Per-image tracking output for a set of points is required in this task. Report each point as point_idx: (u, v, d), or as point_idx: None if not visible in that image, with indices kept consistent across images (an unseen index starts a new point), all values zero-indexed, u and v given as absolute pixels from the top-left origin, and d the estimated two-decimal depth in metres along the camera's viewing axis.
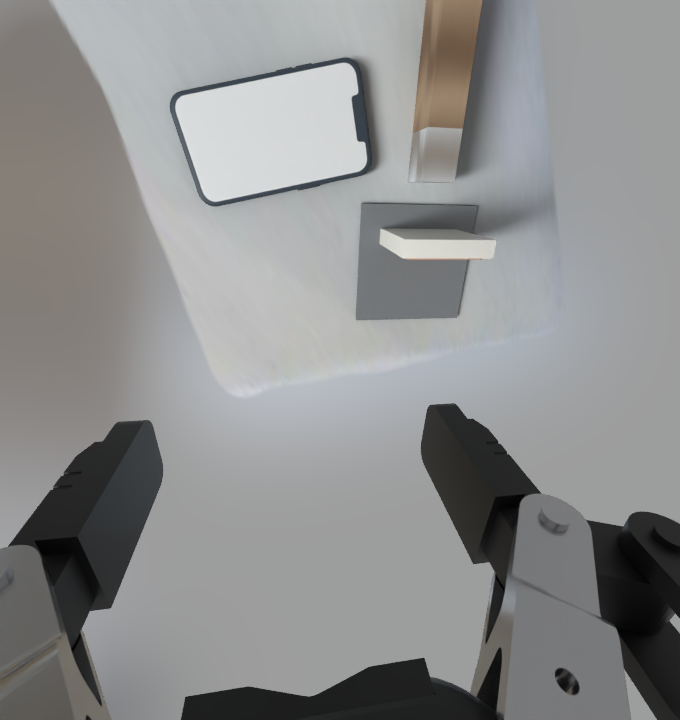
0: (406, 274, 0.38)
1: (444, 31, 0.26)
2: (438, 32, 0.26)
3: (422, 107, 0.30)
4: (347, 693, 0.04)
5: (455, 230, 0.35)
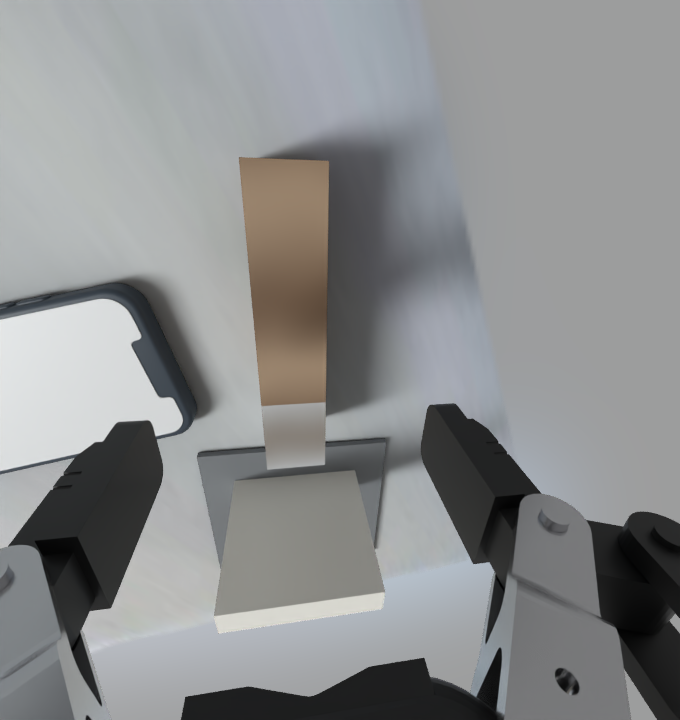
0: None
1: (259, 277, 0.13)
2: None
3: None
4: (346, 693, 0.04)
5: (350, 483, 0.23)
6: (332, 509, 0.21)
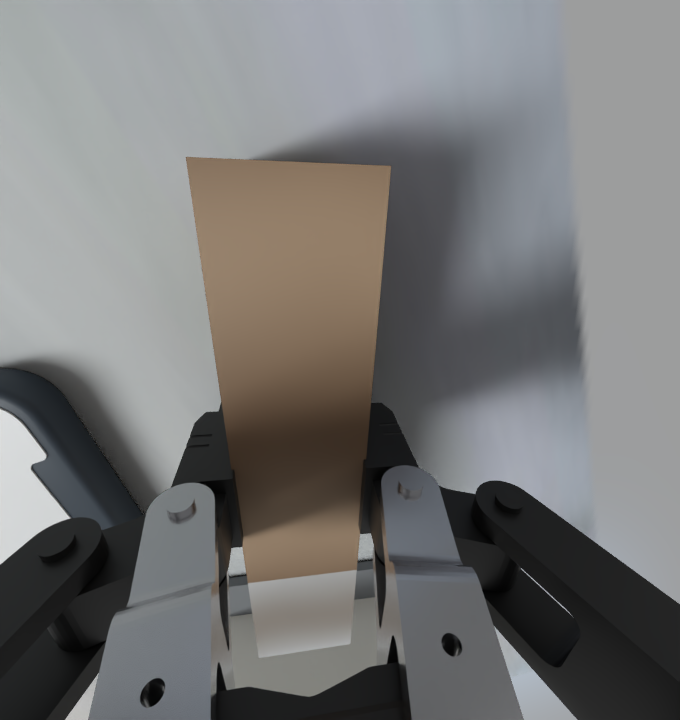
0: None
1: (240, 394, 0.07)
2: (222, 394, 0.07)
3: None
4: (347, 693, 0.04)
5: None
6: None
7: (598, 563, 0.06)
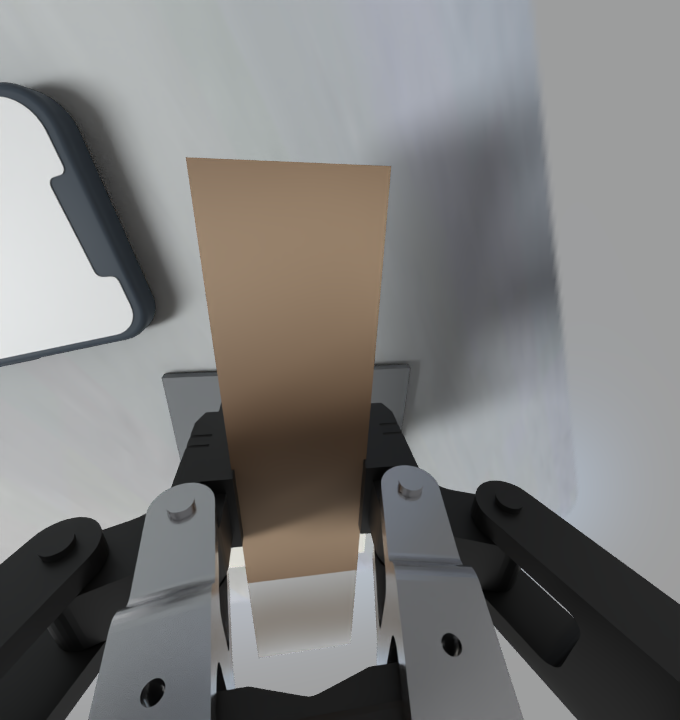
0: None
1: (239, 394, 0.07)
2: (222, 394, 0.07)
3: None
4: (347, 693, 0.04)
5: None
6: None
7: (598, 563, 0.06)
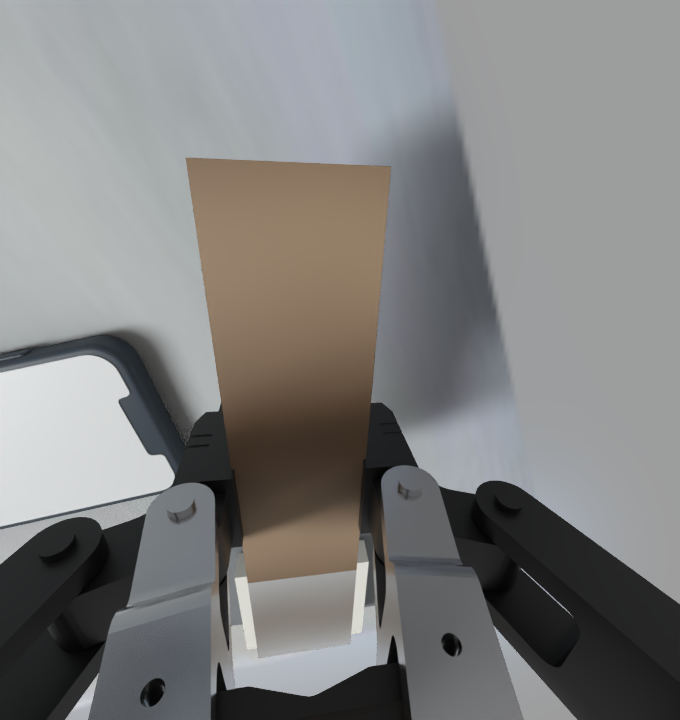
0: None
1: (239, 394, 0.07)
2: (221, 394, 0.07)
3: None
4: (346, 692, 0.04)
5: (359, 574, 0.22)
6: None
7: (597, 563, 0.06)
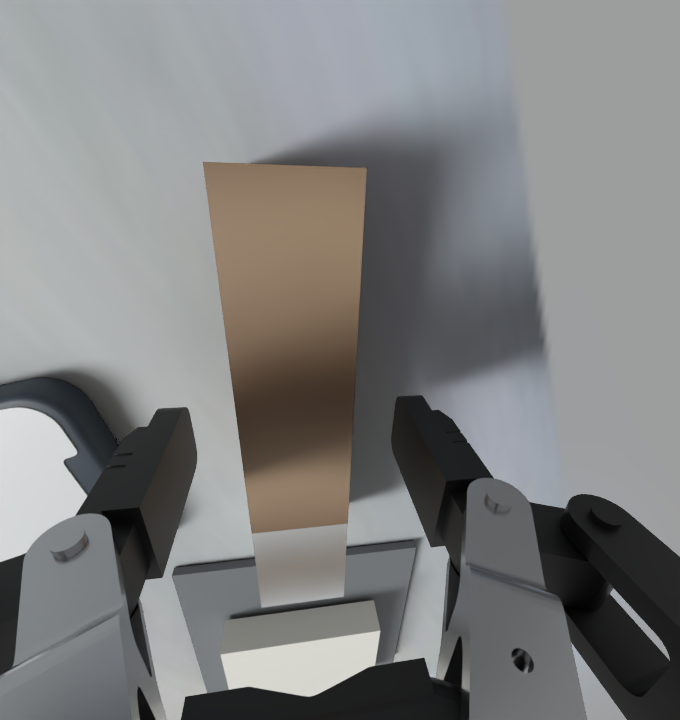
0: None
1: (244, 359, 0.08)
2: (229, 360, 0.08)
3: None
4: (347, 693, 0.04)
5: (368, 643, 0.19)
6: (341, 665, 0.19)
7: None
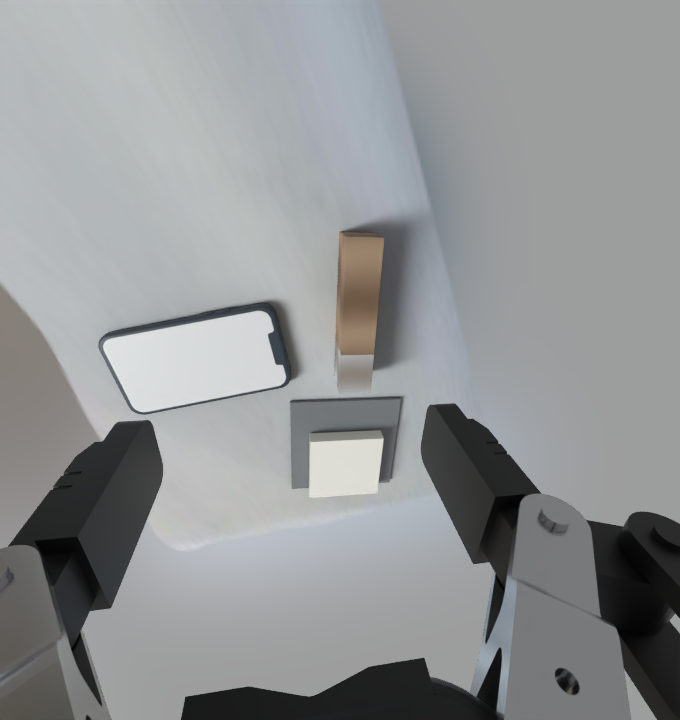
0: None
1: (348, 288, 0.29)
2: (343, 288, 0.29)
3: (338, 330, 0.32)
4: (347, 692, 0.04)
5: (378, 447, 0.38)
6: (364, 460, 0.39)
7: None
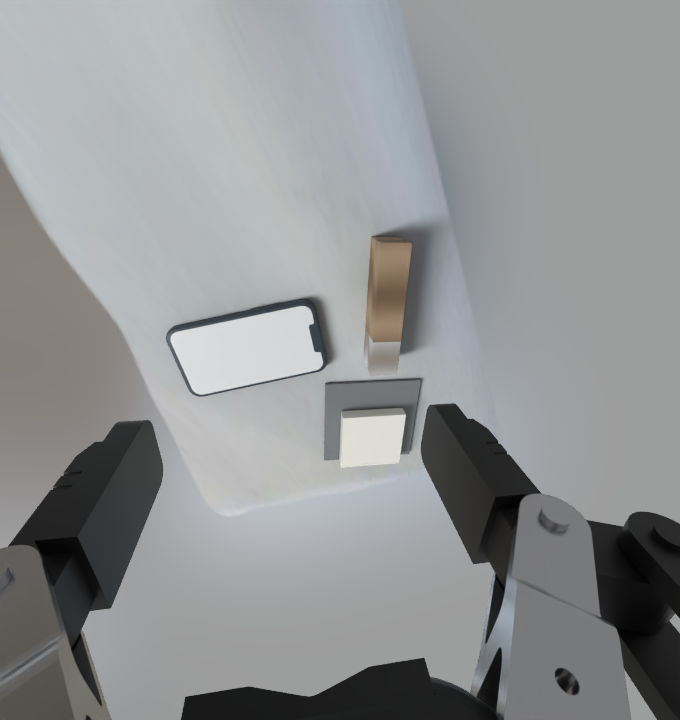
0: None
1: (381, 285, 0.34)
2: (377, 285, 0.34)
3: (370, 321, 0.37)
4: (346, 692, 0.04)
5: (400, 422, 0.44)
6: (388, 434, 0.45)
7: None
